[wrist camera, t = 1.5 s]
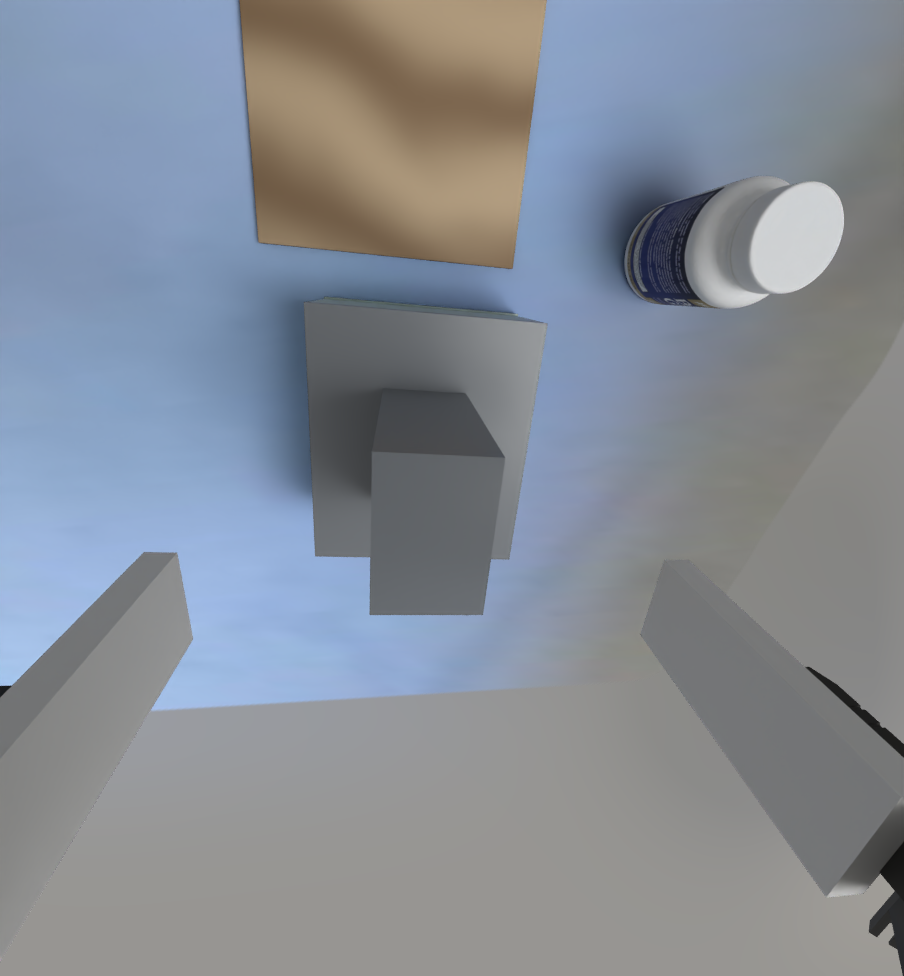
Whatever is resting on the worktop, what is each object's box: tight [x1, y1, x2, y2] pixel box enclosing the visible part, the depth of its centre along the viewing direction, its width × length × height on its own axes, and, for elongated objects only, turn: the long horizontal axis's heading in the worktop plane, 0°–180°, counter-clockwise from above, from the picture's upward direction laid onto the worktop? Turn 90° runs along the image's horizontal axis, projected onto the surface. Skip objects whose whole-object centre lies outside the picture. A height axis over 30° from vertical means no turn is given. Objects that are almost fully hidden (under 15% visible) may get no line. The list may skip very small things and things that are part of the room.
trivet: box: [240, 0, 547, 269], centre depth 22 cm, size 16×14×1 cm
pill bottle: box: [624, 176, 844, 308], centre depth 22 cm, size 5×5×10 cm
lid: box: [304, 302, 547, 615], centre depth 19 cm, size 13×11×10 cm
